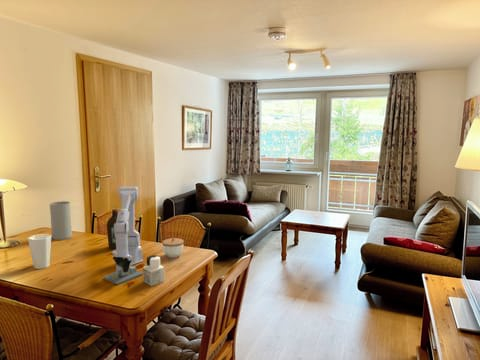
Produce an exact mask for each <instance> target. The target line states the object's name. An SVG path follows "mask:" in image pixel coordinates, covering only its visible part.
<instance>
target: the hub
mask: <svg viewBox="0 0 480 360" xmlns="http://www.w3.org/2000/svg"><path fill="white" fill-rule="evenodd" d="M115 273H116V274H118V275H119V276H124V275H127V274H130V273H129V270H128V272H124V270H123V265H122V263H120V264H117V265H116V264H115Z"/></svg>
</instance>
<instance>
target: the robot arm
mask: <svg viewBox="0 0 480 360" xmlns="http://www.w3.org/2000/svg"><path fill="white" fill-rule="evenodd" d="M118 197H119V199H120V200H121V202H120V203H121V204H120V210H117V212H118V216H117V221H116V223H115V224H114V234H115V237H116V249H115V250H112V256H113V257H112V259H113V260H114V262H115V266H116V265H117V264H120V263H122V265H123V270H124V272H128V270H129V267H130V266H133V265H135V264H138V263H141V262H143V261H144V259H143V248H142V246H141V235H140V232H138V230H136V229H135V228H136V226H135V225H136V224H135V220H136V219H135V213H136V212H135V211H136V210H135V208H136V207H135V205H136V202H138V201H139V187H138V186H119V188H118Z"/></svg>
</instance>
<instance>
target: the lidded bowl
mask: <svg viewBox="0 0 480 360" xmlns="http://www.w3.org/2000/svg"><path fill="white" fill-rule="evenodd" d="M161 243H162V249H163V253H164V254H165V256H166V257H168V258H170V259H173V258H174V259H175V258H178V257H179V256H180V255H181V254H182V253H183V251H184V243H185V241H184V239H182V238H177V237H171V238H167V239H163V240H162V242H161Z"/></svg>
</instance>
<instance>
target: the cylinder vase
mask: <svg viewBox="0 0 480 360" xmlns="http://www.w3.org/2000/svg"><path fill="white" fill-rule="evenodd" d="M49 211H50V212H49V215H50V225H51V226H50V227H51V240H55V241H63V240H68V239H70V238H72V237H73V230H72V217H71V216H72V215H71V202H70V201H65V200H64V201H62V200H61V201H53V202H50V203H49Z"/></svg>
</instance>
